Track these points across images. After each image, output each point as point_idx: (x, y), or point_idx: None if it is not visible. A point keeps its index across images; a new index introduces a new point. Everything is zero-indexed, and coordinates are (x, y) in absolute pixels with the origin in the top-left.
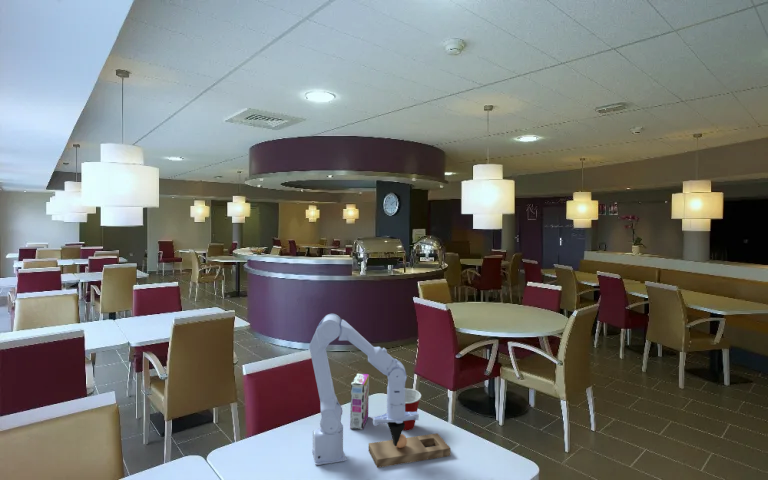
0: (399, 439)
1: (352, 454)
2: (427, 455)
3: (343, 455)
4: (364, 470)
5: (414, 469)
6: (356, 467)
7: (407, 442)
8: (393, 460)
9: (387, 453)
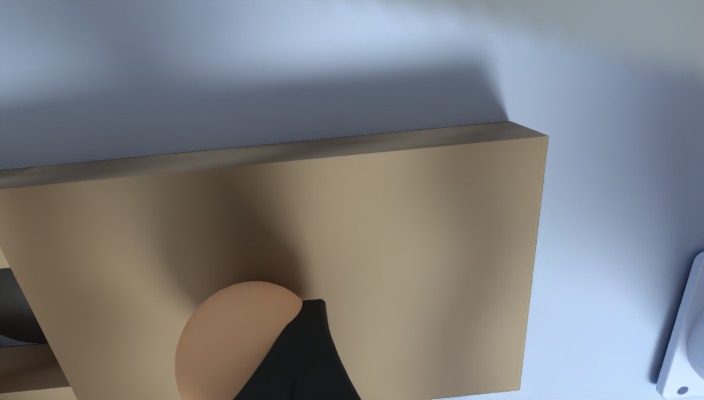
0: (264, 345)
1: (613, 320)
2: (16, 178)
3: (701, 304)
4: (621, 104)
5: (183, 29)
6: (660, 159)
7: None
8: (367, 145)
9: (413, 225)
